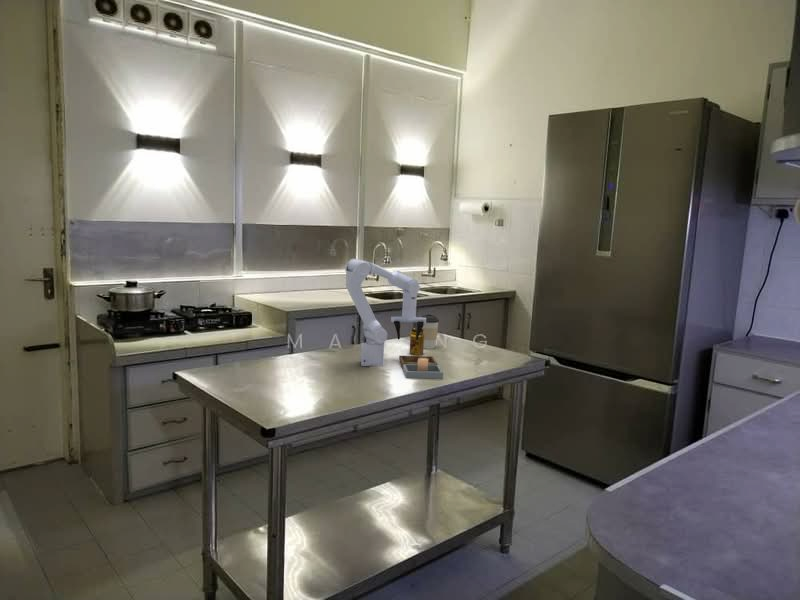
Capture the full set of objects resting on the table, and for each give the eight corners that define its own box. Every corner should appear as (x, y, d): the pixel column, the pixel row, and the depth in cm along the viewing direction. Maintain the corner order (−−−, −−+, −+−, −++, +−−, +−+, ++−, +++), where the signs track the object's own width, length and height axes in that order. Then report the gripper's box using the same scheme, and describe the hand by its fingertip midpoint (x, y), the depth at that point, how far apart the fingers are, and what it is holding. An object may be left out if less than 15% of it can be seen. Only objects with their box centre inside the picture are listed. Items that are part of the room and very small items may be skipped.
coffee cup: (437, 349, 266) (439, 317, 264) (418, 349, 266) (420, 317, 263) (436, 345, 275) (438, 314, 273) (417, 344, 275) (419, 313, 272)
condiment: (406, 355, 252) (407, 329, 250) (412, 351, 260) (413, 325, 258) (422, 358, 250) (423, 331, 248) (427, 354, 257) (429, 327, 256)
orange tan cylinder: (417, 375, 220) (418, 360, 219) (416, 372, 224) (417, 357, 223) (428, 375, 220) (429, 360, 219) (426, 372, 224) (427, 357, 223)
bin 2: (405, 379, 216) (406, 371, 215) (402, 371, 227) (403, 364, 226) (442, 380, 217) (443, 372, 217) (437, 372, 228) (438, 364, 228)
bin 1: (402, 370, 228) (402, 363, 228) (399, 362, 240) (399, 355, 239) (437, 371, 230) (437, 363, 229) (432, 363, 241) (432, 356, 241)
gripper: (392, 308, 235) (391, 340, 237) (428, 309, 237) (426, 341, 239) (391, 305, 242) (389, 337, 244) (425, 306, 244) (423, 337, 246)
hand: (407, 339), depth 242 cm, fingers open, 7 cm apart
